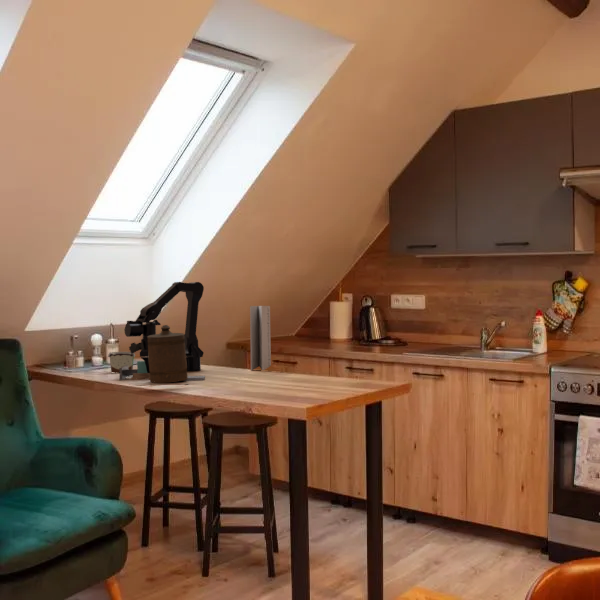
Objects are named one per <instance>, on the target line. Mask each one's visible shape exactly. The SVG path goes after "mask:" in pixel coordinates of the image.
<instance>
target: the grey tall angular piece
mask: <svg viewBox="0 0 600 600" xmlns="http://www.w3.org/2000/svg"><path fill="white" fill-rule="evenodd" d="M249 319H250V320H249V322H250V324H249V327H250V329H249V330H250V331H249V332H250V333H249V334H250V339H249V341H250V371H254V370H255V369H257V368H259V369H261V371H264V370H267V369H268V368H270V367H271V366H272V353H271V349H272V348H271V346H272V345H271V344H272V343H271V305H250V306H249Z"/></svg>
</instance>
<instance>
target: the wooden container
mask: <svg viewBox="0 0 600 600" xmlns="http://www.w3.org/2000/svg"><path fill="white" fill-rule="evenodd" d="M160 329H161V331H160V333H156V334H155V335H150V336H148V356H149V371H150V379H149V380H150V381H149V382H151V383H155V384H167V383H175V382H176V383H179V382H184V381H183V380H186V379H187V378H188V376H189V375H188V371H187V361H186V351H185V337H184V334H185V333H184V332H183V333H182V332H172V331H170V329H171V327H170V326H169V325H168V324H163V325H162V326H161V327H160Z"/></svg>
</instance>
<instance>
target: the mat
mask: <svg viewBox="0 0 600 600" xmlns="http://www.w3.org/2000/svg"><path fill="white" fill-rule="evenodd" d="M205 380H206V375H188V378H187V379H186V380H183V381H182V382H184V381H185V382H186V381H188V382H189V381H205Z"/></svg>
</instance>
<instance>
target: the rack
mask: <svg viewBox="0 0 600 600" xmlns="http://www.w3.org/2000/svg"><path fill="white" fill-rule="evenodd" d="M119 370H120V373H119V381H123V380H124V379H126V377H127V376H128V375H133V373H137V368H133V369H128V365H125V366H123V367H121V368H119ZM128 377H129V376H128ZM128 377H127V378H128Z"/></svg>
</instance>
